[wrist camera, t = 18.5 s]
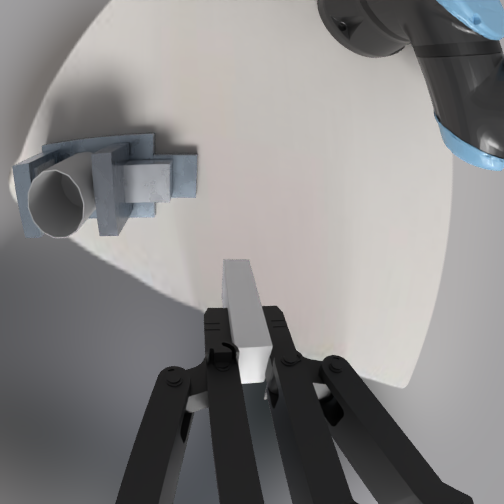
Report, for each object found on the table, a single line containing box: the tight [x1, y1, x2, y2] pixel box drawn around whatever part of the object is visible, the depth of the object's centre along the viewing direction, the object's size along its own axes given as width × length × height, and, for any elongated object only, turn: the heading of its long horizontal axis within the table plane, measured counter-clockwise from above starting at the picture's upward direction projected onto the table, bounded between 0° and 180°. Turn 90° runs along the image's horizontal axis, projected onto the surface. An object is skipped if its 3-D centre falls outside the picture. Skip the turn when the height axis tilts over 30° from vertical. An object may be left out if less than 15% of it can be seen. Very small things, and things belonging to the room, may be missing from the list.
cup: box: [28, 152, 96, 238], centre depth 28 cm, size 8×8×10 cm
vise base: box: [13, 133, 197, 238], centre depth 31 cm, size 12×24×9 cm, turn 84°
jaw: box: [91, 143, 173, 236], centre depth 31 cm, size 10×9×8 cm
